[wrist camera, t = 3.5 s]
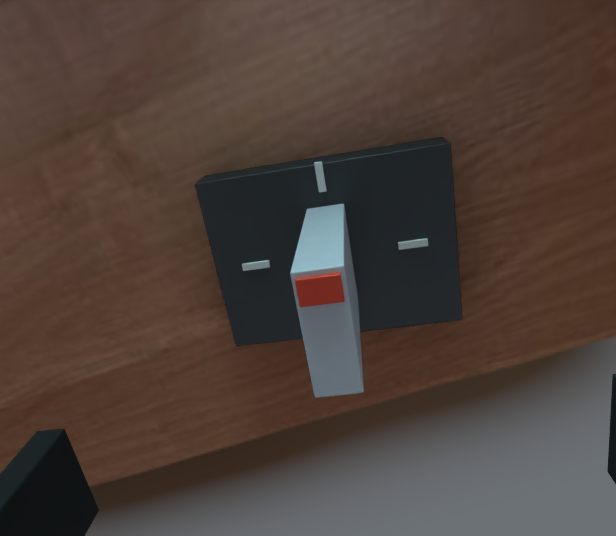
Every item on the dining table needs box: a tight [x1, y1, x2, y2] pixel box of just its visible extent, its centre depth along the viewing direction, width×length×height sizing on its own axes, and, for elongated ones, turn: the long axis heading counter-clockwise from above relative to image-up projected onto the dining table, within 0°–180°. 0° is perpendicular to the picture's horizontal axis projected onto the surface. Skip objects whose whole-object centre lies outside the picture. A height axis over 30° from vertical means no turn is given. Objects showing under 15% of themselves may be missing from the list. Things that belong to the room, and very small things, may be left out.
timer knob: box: [290, 204, 364, 398], centre depth 21 cm, size 5×2×8 cm, turn 10°
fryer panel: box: [195, 137, 462, 346], centre depth 25 cm, size 12×9×2 cm
